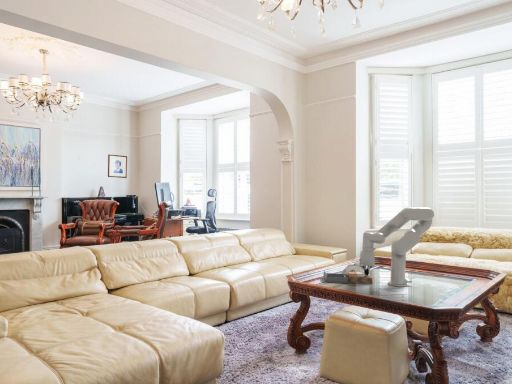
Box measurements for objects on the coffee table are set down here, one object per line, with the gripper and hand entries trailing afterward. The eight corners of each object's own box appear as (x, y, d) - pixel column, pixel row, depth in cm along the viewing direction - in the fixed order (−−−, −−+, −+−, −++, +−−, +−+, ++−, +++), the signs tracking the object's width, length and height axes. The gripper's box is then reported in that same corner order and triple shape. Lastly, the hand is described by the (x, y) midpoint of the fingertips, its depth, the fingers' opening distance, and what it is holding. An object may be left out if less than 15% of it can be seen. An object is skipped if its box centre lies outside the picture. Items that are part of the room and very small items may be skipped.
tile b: (354, 274, 275) (354, 272, 275) (356, 276, 269) (356, 273, 269) (347, 274, 275) (348, 271, 275) (349, 276, 269) (349, 273, 269)
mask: (372, 261, 309) (364, 267, 283) (371, 272, 309) (364, 279, 283) (347, 258, 318) (338, 264, 292) (347, 269, 318) (338, 275, 292)
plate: (367, 280, 278) (367, 274, 278) (372, 283, 266) (372, 278, 266) (345, 279, 278) (345, 273, 278) (349, 282, 266) (349, 277, 266)
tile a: (361, 275, 275) (361, 272, 275) (363, 276, 269) (363, 274, 269) (355, 274, 275) (355, 272, 275) (357, 276, 269) (357, 273, 269)
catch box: (343, 278, 279) (344, 271, 279) (348, 283, 265) (348, 275, 265) (323, 277, 280) (323, 270, 280) (326, 282, 266) (326, 275, 266)
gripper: (376, 249, 276) (375, 274, 276) (356, 248, 276) (354, 273, 276) (379, 250, 268) (378, 276, 268) (358, 249, 269) (357, 275, 269)
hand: (366, 275), depth 272 cm, fingers closed
